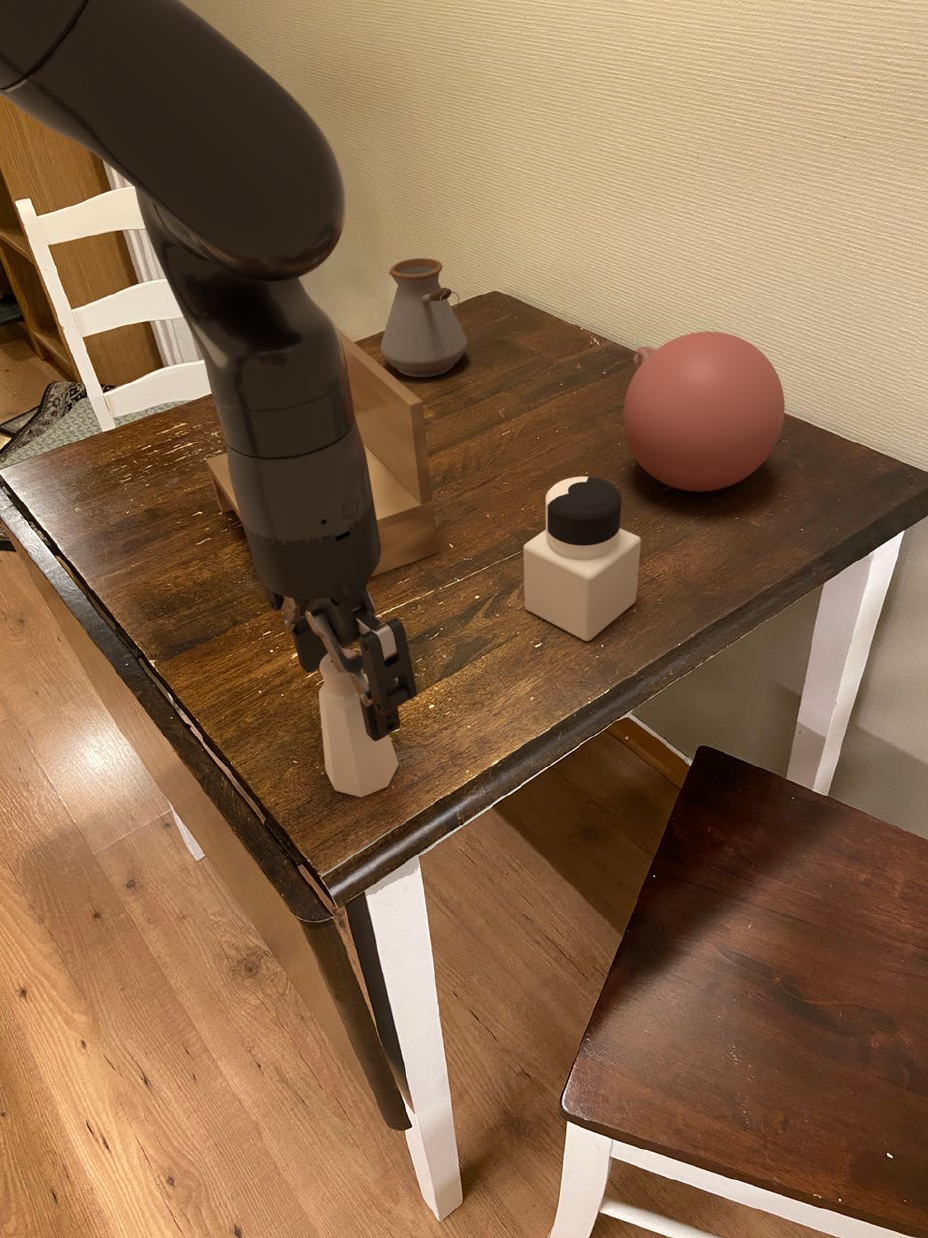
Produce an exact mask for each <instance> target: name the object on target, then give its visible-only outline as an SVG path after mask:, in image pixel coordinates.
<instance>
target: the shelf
mask: <svg viewBox="0 0 928 1238" xmlns="http://www.w3.org/2000/svg"><path fill="white" fill-rule="evenodd" d="M337 329H338V332H339V335H340V337H341V341H342V344H343V348H344V353H345V358H346V362H347V368H348V374H349V380H350V386H351V392H352V399H353V405H354V411H355V417H356V421H357V425H358V429H359V432H360V435H361V438H362V441H363V444H364V448H365V452H366V457H367V462H368V468H369V475H370V481H371V487H372V493H373V500H374V506H375V512H376V518H377V525H378V531H379V537H380V543H381V557H380V561H379V563H378V565H377V567H376V569H375V570H374V572H373V574H372V576H371V577H370V579H372V578H373V577H376V576H379V575H381V574H382V575H383V574H384V573H387V572H389V571H393V570H396V569H397V568H401V567H403V566H407V565H409V564H412V563H414V562H417V561H420V560H422V559H425V558H428V557H431V556H433V555H437V554H438V553H439V552H438V541H437V533H436V532H437V531H436V522H435V513H434V501H433V495H432V494H433V492H432V483H431V474H430V463H429V454H428V443H427V432H426V422H425V415H424V413H425V412H424V404H423V400H422V399H421V398H420V397H418V396H417V395H416V394H415V393H413V392H412V391H411V390H410V389H409V388H408V387H406V386H405V385H404V384H403V383H402V382H400V380H398V378H396V377H395V376H394V375H392V374H391V373H390V372H389V371H388V370H387V369H385V367H383V366H382V365H381V364H380V363H379V362H377V360H375V359H374V358H372V356H370V355H369V354H368V353H367V352H366V351H365V350H363V348H361V347H360V346H359V345H358V344H356V343H355V342H354V341H353V340H352V339H351V338H349V336H347V335H346V333H344V332H342V330H340V329H339V328H338V327H337ZM205 464H206V468H207V471H208V474H209V478H210V480H211V484H212V488H213V491H214V494H215V498H216V502H217V505H218V508H219V510H220V511H221V513H222V514H225V513H228V512H231V511H234V513H235V514H236V516H237V517H238V518H239V521H240V522H241V523H242V519H241V516H240V512H239V509H238V505H237V501H236V498H235V494H234V491H233V487H232V483H231V479H230V474H229V467H228V458H227V452H226V453H222V454H219V455H215V456H212V457H208V458H206V459H205Z"/></svg>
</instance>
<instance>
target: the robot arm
mask: <svg viewBox="0 0 928 1238" xmlns="http://www.w3.org/2000/svg"><path fill="white" fill-rule="evenodd" d="M0 96H1V97H3V98H4V99H6V100H7V101H8V102H9V103H10V104H12V105H13V106H15V107H16V108H17V109H19V110H20V111H22V112H23V113H25V114H26V115H27V116H29V117H30V118H31V119H34V120H35V121H36V122H38V123H39V124H41V125H43V126H44V127H46V128H48V129H50V130H51V131H54V132H55V133H57V134H59V135H61V136H63V137H65V138H67V139H70V141H73V142H75V143H77V144H78V145H81V146H82V147H83V148H85V149H87V150H88V151H90V152H91V153H93V154H94V155H95V156H96V157H98V158H99V159H100V160H102V161H103V162H104V163H105V164H107V165H108V166H109V167H110V168H111V169H113V170H114V171H115V172H116V173H117V174H118V175H120V176H121V177H122V178H123V179H125V180H126V181H127V182H128V183H129V184H130V185H132V186H133V187H134V190H135V195H136V200H137V205H138V208H139V212H140V216H141V219H142V222H143V224H144V225H143V226H144V229H145V230H146V234H147V236H148V240H149V242H150V244H151V247H152V249H153V252H154V254H155V256H156V259H157V261H158V263H159V266H160V268H161V270H162V272H163V274H164V277H165V279H166V281H167V284H168V286H169V288H170V290H171V292H172V294H173V298H174V299H175V301H176V304H177V305H178V308H179V310H180V312H181V314H182V317H183V319H184V320H185V323H186V324H187V326H188V328H189V330H190V332H191V334H192V336H193V339H194V340H195V342H196V344H197V347H198V349H199V351H200V353H201V357H202V358H203V362H204V365H205V370H206V374H207V380H208V384H209V388H210V392H211V395H212V399H213V402H214V406H215V410H216V413H217V417H218V420H219V424H220V429H221V432H222V436H223V438H224V439H223V440H224V446H225V449H226V450H225V451H226V453H227V458H228V467H229V474H230V479H231V483H232V487H233V491H234V494H235V498H236V501H237V505H238V509H239V512H240V516H241V519H242V522H241V524H242V527H243V529H244V530H243V531H244V533H245V537H246V540H247V544H248V548H249V551H250V554H251V558H252V562H253V566H254V570H255V573H256V575H257V577H258V579H259V581H260V583H262V584H263V585H264V588H265V591H266V596H267V600H268V604H269V606H270V608H271V609H273V611H274V612H278V611H280V610H281V612H282V613H283V614H282V621H283V625H284V626H285V628H287V630H288V631H290V633H291V635H292V639H293V643H294V646H295V650H296V655H297V658H298V662H299V665H300V667H301V668H302V669H303V670H304V672H306V673H308V674H309V673H313V672H314V671H316V670H318V669H320V667H319V665H320V662H321V660H322V659H323V657H324V656H326V655H327V654H328V653H329V655H330V657H331V659H332V661H333V663H334V665H335V667H336V669H337V671H338V672H339V673H341V674H347V675H348V676H349V677H350V679H351V681H352V683H353V685H354V687H355V689H356V691H357V693H358V695H359V700H360V705H361V709H362V714H363V719H364V724H365V729H366V733H367V735H368V736H369V737H370V738H371V739H372V740H373V741H379V740H380V739H382V738H384V737H385V736H387V735H389V736H390V734H392V733H394V732H395V731H397V730H399V729H400V728H401V727H400V726H401V720H400V715H399V714H400V713H399V708H398V707H400V706H402V705H403V704H404V703H406V702H407V701H411V700H412V699H414V698H416V697H417V696H418V692H417V686H416V681H415V676H414V671H413V666H412V661H411V654H410V650H409V644H408V643H409V642H408V639H407V632H406V629H405V626H404V624H403V623H402V621H401V620H400V619H399V618H398V617H393V618H391V619H389V620H387V621H385V622H383V621H382V620H381V619H379V618H378V617H377V615H376V612H375V602H374V600H373V598H372V595H371V593H370V592H369V590H368V588H367V586H368V585H369V581H370V579H371V578H372V577H371V576H372V574H373V572H374V570H375V569H376V567H377V565H378V563H379V561H380V557H381V543H380V537H379V531H378V525H377V518H376V512H375V506H374V500H373V493H372V487H371V481H370V475H369V468H368V462H367V457H366V452H365V448H364V444H363V441H362V438H361V435H360V432H359V429H358V425H357V421H356V417H355V411H354V405H353V399H352V392H351V386H350V380H349V374H348V368H347V362H346V358H345V353H344V348H343V344H342V341H341V337H340V335H339V332H338V329H339V328H338V327H337V325H336V323H335V322H334V320H333V319H332V318H331V316H329V314H328V313H327V312H326V310H324V309H323V308H322V307H321V306H320V305H319V304H318V303H317V302H316V301H315V300H314V299H313V298H312V297H311V296H310V294H309V293H308V291H307V289H306V288H305V286H304V283H303V281H302V277H304V276H306V275H307V274H310V273H311V272H313V271H315V269H317V268H319V267H320V266H321V265H323V264H324V262H325V261H326V260H328V258H329V257H330V256H331V254H332V253H333V252H334V250H335V249H336V247H337V245H338V243H339V241H340V239H341V236H342V234H343V231H344V229H345V228H344V227H345V222H346V217H347V190H346V183H345V179H344V174H343V171H342V168H341V164H340V162H339V160H338V156H337V155H336V154H337V153H336V152H335V150H334V149H333V147H332V145H331V143H330V141H329V139H328V138H327V136H326V135H325V132H323V130H322V129H321V127H320V126H319V125H318V123H317V122H316V121H315V119H314V118H313V117H312V116H311V114H310V113H309V112H308V111H307V109H305V108H304V107H303V105H302V104H301V103H300V102H299V100H297V99H296V98H295V97H294V96H293V95H292V94H291V93H290V92H289V91H288V90H287V89H286V88H285V87H284V86H283V85H281V83H279V82H278V81H277V80H276V79H275V78H274V77H273V76H272V75H270V74H269V72H267V71H266V70H265V69H264V68H263V67H261V66H260V65H259V64H258V63H256V61H254V59H252V58H251V57H250V56H249V55H247V54H246V53H245V52H244V51H242V49H240V48H239V47H238V46H237V45H235V43H233V42H232V41H231V40H229V38H228V37H226V36H225V35H224V34H222V33H221V31H219V30H218V29H217V28H215V27H214V26H213V25H212V24H211V23H210V22H208V21H207V20H206V19H205V18H204V17H202V15H199V14H198V13H197V12H196V11H195V10H193V9H192V8H190V6H188V5H187V4H185V3H184V2H183V1H182V0H0ZM337 328H338V329H337ZM370 577H371V578H370ZM357 642H358V643H359V647H358V648H357V652H356V653H357V654H355V655H354V656H352V657H350V658H348V657H347V656H346V655H345V654H344V652H343V650H342V649H347V648H349V647H350V646H352V645H353V644H355V643H357ZM363 668H364V669H365V674H366V676H367V678H368V683H369V684H368V683H367V681H366V679H365V677H364V675H363V674H364V673H363V674H362V670H363Z"/></svg>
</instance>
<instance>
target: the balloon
mask: <svg viewBox="0 0 928 1238" xmlns="http://www.w3.org/2000/svg"><path fill="white" fill-rule="evenodd" d="M635 351H636V354H634V357H633V359H632V363H633V366H634V368H635V370H636V371H635V373H634V375H633V376H632V379H631V380H630V383H629V384H628V387H627V390H626V394H625V398H624V402H623V410H622V422H623V423H622V424H623V431H624V435H625V439H626V442H627V445H628V448H629V449H630V452H631V453H632V455H633V456H634V458H635V460H636V461H637V462H638V464H639V465H640V466H641V467H642V469H644V470H645V471H646V473H647V474H649V475H650V476H651V477H653V478H654V479H656V480H657V481H659V482H660V483H662V484H663V485H666V486H667V487H670V488H671V487H672V488H674V489H678V490H681V491H686V492H695V493H696V492H697V493H700V492H701V493H702V492H703V493H704V492H712V491H717V490H721V489H724V488H728V487H731V486H732V485H735V484H737V483H739V482H741V481H743V480H744V479H746V478H747V477H748V476H750V475H751V474H752V473H754V472H755V471H756V470H757V469H758V468H759V467H760V466H761V465H763V463H764V462H765V461H766V460H767V459H768V457H769V456H770V454H771V452H772V451H773V450H774V448H775V446H776V444H777V443H778V440H779V437H780V435H781V432H782V429H783V424H784V419H785V410H786V409H785V407H786V406H785V405H786V404H785V403H786V402H785V394H784V389H783V385H782V383H781V379H780V377H779V374H778V373H777V371H776V368H775V367H774V366H773V364H772V362H771V361H770V360H769V358H768V357H767V356H766V355H765V354H764V353H763V352H762V351H761V350H760V349H759V348H757V347H756V346H755V345H753V344H752V343H750V342H749V341H747V340H745V339H744V338H741V337H739V336H737V335H734V334H729V333H725V332H721V331H697V332H696V331H695V332H690V333H687V334H684V335H681V336H678V337H675V338H673V339H671V340H669V341H667V342H666V343H663V344H662V345H661V346H660V347H658V348H657V349H656V348H654V347H651V346H649V345H646V346H640V347H638V348H636V350H635Z"/></svg>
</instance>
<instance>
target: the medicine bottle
mask: <svg viewBox="0 0 928 1238" xmlns="http://www.w3.org/2000/svg"><path fill="white" fill-rule="evenodd" d="M622 501H623V499H622V494H621V492H620V491H619V489H617V487H616V486H614V484H613V483H611V482H609V481H607V480H605V479H603V478H599V477H598V478H597V477H592V476H573V477H568V478H566V479H562V480H560V481H558V482H556V483H555V484H553V486H551V488H550V489H548V491H547V493H546V495H545V529H544V530H543V531H541V532H540V533H539V534H537V535H536V536H534V537H533V538H531V539H530V540H529V541H527V542H526V543H525V544H524V545H523V582H524V583H523V585H524V586H523V589H524V592H523V593H524V609H525V610H526V611H528V612H530V613H532V614H534V615H536V616H538V617H539V618H541V619H543V620H545V621H546V622H549V623H550V624H553V625H555V626H556V627H558V628H560V629H562V630H564V631H566V632H567V633H569V634H571V635H573V636H575V637H576V638H579V639H581V640H582V641H584V642H590V641H591V640H592V639H593V638H595V637H596V636H597V635H599V634H600V633H601V632H602V631H603V630H604V629H606V628H607V627H608V626H609V625H610V624H611V623H612V622H614V621H615V620H616V619H617V618H619V616H621V615H622V614H624V612H625V611H627V610H628V609H629V608H630V607H631V606H632V605H634V604H635V603H636V601H637V594H638V593H637V592H638V581H639V580H638V579H639V569H640V556H641V543H642V542H641V541H642V539H641V537H640V536H639V535H636V534H634V533H632V532H630V531H627V530H626V529H622V528H620V527H621V513H622Z"/></svg>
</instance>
